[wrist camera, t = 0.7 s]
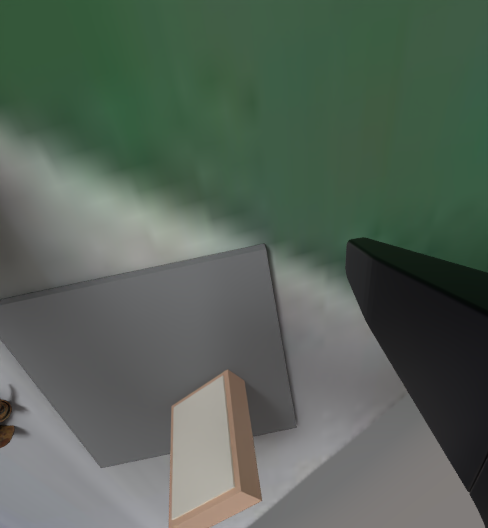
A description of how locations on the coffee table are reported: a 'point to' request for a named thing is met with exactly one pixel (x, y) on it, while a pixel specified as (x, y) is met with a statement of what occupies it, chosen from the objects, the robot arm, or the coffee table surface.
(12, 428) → the sword
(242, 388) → the tile
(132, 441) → the mat
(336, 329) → the coffee table surface
